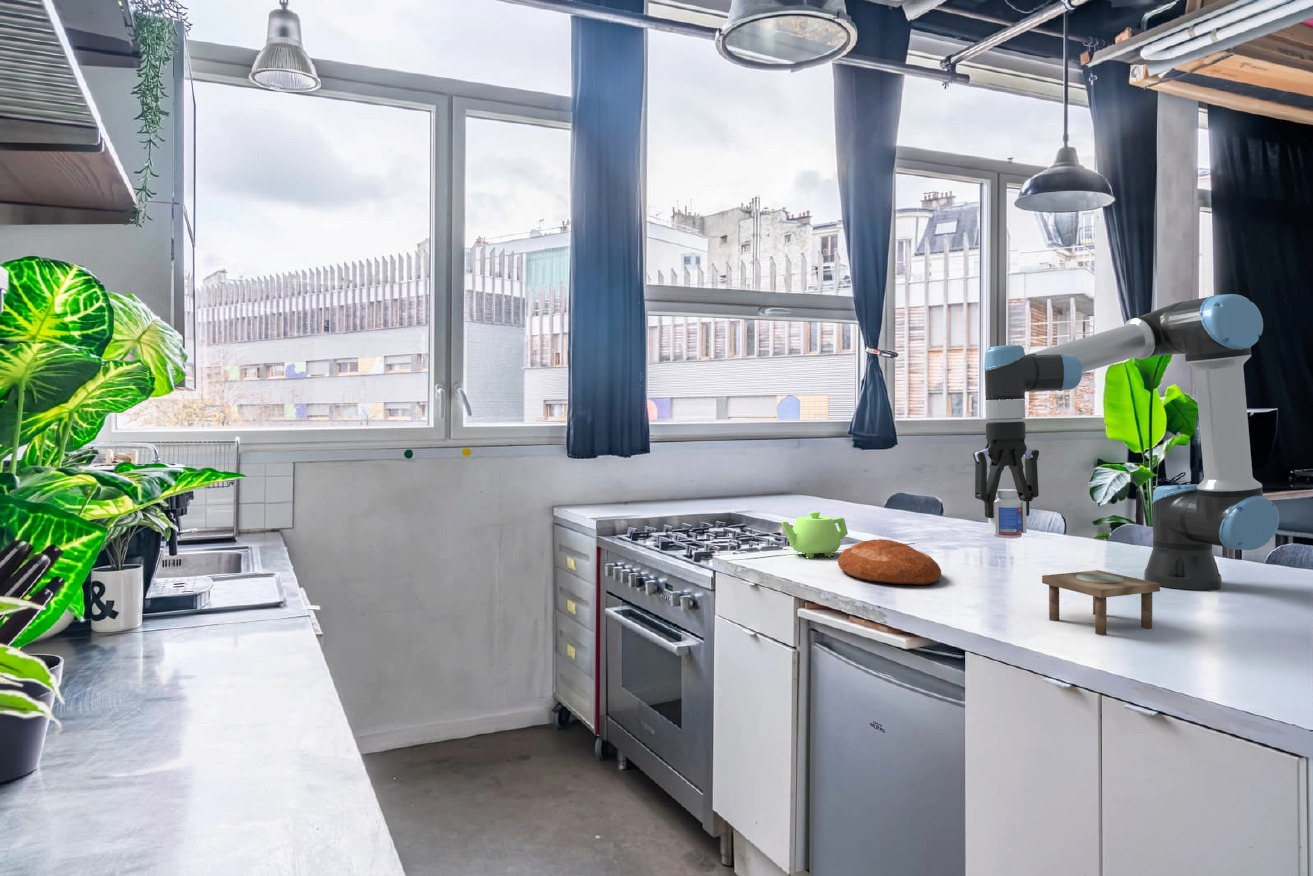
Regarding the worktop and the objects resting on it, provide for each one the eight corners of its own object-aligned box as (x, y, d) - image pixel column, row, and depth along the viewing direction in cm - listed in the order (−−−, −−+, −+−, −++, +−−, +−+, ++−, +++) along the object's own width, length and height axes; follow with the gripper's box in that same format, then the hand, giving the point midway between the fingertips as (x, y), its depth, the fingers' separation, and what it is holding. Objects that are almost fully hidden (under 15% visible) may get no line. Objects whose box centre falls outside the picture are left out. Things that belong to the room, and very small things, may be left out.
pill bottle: (1024, 539, 166) (1023, 491, 166) (996, 539, 167) (995, 491, 167) (1018, 534, 172) (1017, 488, 171) (991, 534, 173) (990, 488, 172)
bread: (890, 562, 225) (889, 530, 224) (967, 584, 194) (967, 547, 194) (817, 568, 218) (816, 535, 218) (885, 592, 188) (885, 554, 187)
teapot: (790, 561, 228) (790, 516, 228) (773, 553, 241) (773, 510, 241) (857, 557, 232) (856, 513, 232) (836, 549, 245) (836, 508, 245)
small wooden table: (1097, 612, 165) (1097, 568, 165) (1160, 628, 152) (1159, 581, 152) (1042, 618, 161) (1042, 574, 161) (1101, 636, 148) (1101, 588, 147)
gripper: (1035, 419, 174) (1037, 528, 175) (954, 422, 171) (956, 532, 172) (1057, 419, 166) (1059, 533, 167) (973, 422, 164) (975, 538, 164)
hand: (1007, 532), depth 169 cm, fingers closed on pill bottle, 5 cm apart
